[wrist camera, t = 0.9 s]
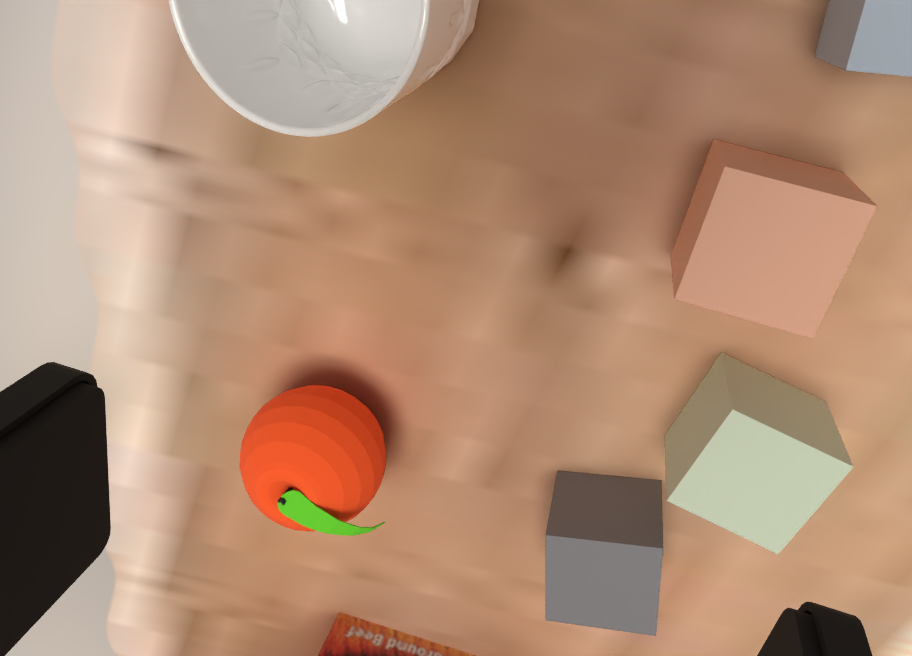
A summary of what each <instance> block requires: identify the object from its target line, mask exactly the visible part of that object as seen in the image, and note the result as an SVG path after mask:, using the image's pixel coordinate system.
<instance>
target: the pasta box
mask: <svg viewBox="0 0 912 656" xmlns="http://www.w3.org/2000/svg"><path fill="white" fill-rule="evenodd" d="M318 656H475V655H472V654H468V653H465V652H462V651H459V650H456V649H453V648H450V647H447V646H443V645H440V644H437V643H434V642H431V641H428V640H425V639H422V638H419V637H415V636H412V635H409V634H406V633H403V632H400V631H397V630H394V629H390V628H387V627H384V626H381V625H378V624H375V623H372V622H369V621H365V620H362V619H359V618H356V617H353V616H350V615H347V614H344V613H340V612H339V614H338V616H337V618H336V620H335V622H334V624H333V626H332V628H331V630H330V633H329V635H328V637H327V639H326V641H325V643H324V645H323V647H322V649H321V651H320V653H319V655H318Z"/></svg>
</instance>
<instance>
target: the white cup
mask: <svg viewBox="0 0 912 656" xmlns="http://www.w3.org/2000/svg"><path fill="white" fill-rule="evenodd" d="M479 1H480V0H169V5H170V9H171V13H172V17H173V20H174V24H175V27H176V29H177V32H178V35H179V37H180V40H181V42H182V44H183V46H184V48H185V50H186V52H187V54H188V56H189V58H190V60H191V61H192V63H193V65H194V66H195V68H196V69H197V71H198V72H199V74H200V75H201V76H202V78H203V79H204V80H205V82H206V83H207V84H208V85H209V87H210V88H211V89H212V90H213V91H214V92H215V93H216V94H217V95H218V96H219V97H220V98H221V99H222V100H223V101H224V102H225V103H226V104H228V105H229V106H230V107H231V108H232V109H234V110H235V111H236V112H238V113H239V114H241V115H242V116H244V117H245V118H247V119H249V120H251V121H252V122H254V123H256V124H258V125H260V126H263V127H265V128H267V129H270V130H273V131H276V132H279V133H283V134H288V135H294V136H303V137H319V136H328V135H333V134H337V133H341V132H344V131H347V130H350V129H352V128H355V127H357V126H359V125H361V124H363V123H365V122H366V121H368V120H370V119H371V118H373V117H374V116H376V115H377V114H379V113H380V112H382V111H383V110H385V109H386V108H388V107H389V106H391V105H392V104H394V103H395V102H397V101H399V100H400V99H402V98H403V97H405V96H406V95H408V94H410V93H411V92H413V91H414V90H416V89H417V88H418V87H420V86H421V85H422V84H423V83H424V82H426V81H427V80H429V79H430V78H431V77H433V76H434V75H435V74H436V73H437V72H438V71H439V70H440V69H441V68H442V67H443V66H445V65H447V64H448V63H450V62H451V61H452V59H453V58H454V57H455V55H456V54H457V52H458V51H459V50H460V48H461V47H462V45H463V44H464V43H465V41H466V40H467V39H468V37H469V36H470V34H471V33H472V32H473V30H474V25H475V20H476V15H477V10H478V5H479Z"/></svg>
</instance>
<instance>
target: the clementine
mask: <svg viewBox="0 0 912 656" xmlns="http://www.w3.org/2000/svg"><path fill="white" fill-rule="evenodd" d="M385 465H386V450H385V443H384V437H383V432H382V430H381V428H380V426H379V423H378V421H377V419H376V418H375V417H374V415H373V414H372V413H371V412H370V410H369V409H368V408H367V407H366V406H365V405H364V404H363V403H361V402H360V401H359V400H358V399H357V398H355V397H354V396H352V395H350V394H348V393H346V392H344V391H342V390H340V389H336V388H333V387H329V386H323V385H309V386H304V387H300V388H296V389H291V390H287V391H285V392H283V393H282V394H280V395H278V396H277V397H275V398H273V399H272V400H271V401H269V402H268V403H266V404H265V405H264V406H263V407H262V408H261V409H260V410H259V412H258V413H257V414H256V415H255V416H254V418H253V419H252V421H251V423H250V424H249V426H248V428H247V430H246V432H245V435H244V438H243V440H242V445H241V452H240V471H241V475H242V479H243V483H244V486H245V489H246V491H247V493H248V495H249V497H250V499H251V500H252V502H253V503H254V504H255V505H256V507H257V508H258V509H259V510H260V511H261V512H262V513H263V514H264V515H266V516H267V517H268V518H269V519H271V520H272V521H274V522H276V523H278V524H280V525H282V526H284V527H287V528H290V529H294V530H300V531H320V532H323V533H327V534H336V535H358V534H363V533H367V532H371V531H372V530H374V529H375V528H377V527H379V526H380V525H382V524H384V523H385V522H383V523H381V524H379V525H376V526H374V527H358V526H355V525H352V524H349V523H346V522H347V521H349V520H350V519H352V518H354V517H356V516H357V515H358V514H359V513H360V512H361V511H362V510H363V509H364V508H365V507H366V506H367V505H368V504H369V502H370V501H371V500H372V499H373V498H374V496H375V494H376V492H377V490H378V488H379V486H380V484H381V482H382V478H383V475H384V471H385Z"/></svg>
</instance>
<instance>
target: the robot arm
mask: <svg viewBox="0 0 912 656" xmlns="http://www.w3.org/2000/svg"><path fill="white" fill-rule="evenodd" d="M110 529H111V527H110V504H109V482H108V459H107V437H106V414H105V396H104V392H103V391H102V389H100V388H98V387H97V383H96V379H95V378H94V376H93V375H91V374H89V373H86V372H83V371H80V370H77V369H74V368H71V367H67V366H64V365H61V364H58V363H55V362H51V363H46V364H43V365H41V366H40V367H38V368H37V369H35V370H33V371H32V372H30V373H29V374H27V375H26V376H24V377H23V378H21V379H20V380H18V381H17V382H15V383H14V384H12V385H10V386H9V387H7V388H6V389H5V390H3V391H1V392H0V656H5V655H6V654H7V653H8V652H9V651H10V650H11V648H12V647H13V646H14V645H15V644H16V643H17V642H18V641H19V640H20V639H21V638H22V637H23V636H24V635H25V634H26V633H27V632H28V630H29V629H30V628H31V627H32V626H33V625H34V624H35V623H36V622H37V621H38V620H39V619H40V618H41V617H42V616H43V615H44V613H45V612H46V611H47V610H48V609H49V608H50V607H51V606H52V605H53V604H54V603H55V602H56V601H57V600H58V599H59V598H60V597H61V595H62V594H63V593H64V592H65V591H66V590H67V589H68V588H69V587H70V586H71V585H72V584H73V583H74V582H75V581H76V579H77V578H78V577H79V576H80V575H81V574H82V573H83V572H84V571H85V570H86V569H87V568H88V567H89V566H90V564H92V563H93V562H94V560H95V559H96V558H97V557H98V556H99V555H100V554H101V552H102V551H103V549H104V548H105V546H106V544H107V542H108V539H109V536H110ZM757 656H872V653H871V650H870V647H869V643H868V640H867V637H866V634H865V630H864V627H863V625H862V623H861V621H860V620H859V619H858V618H857V617H856V616H853V615H850V614H847V613H844V612H841V611H838V610H835V609H831V608H828V607H825V606H822V605H819V604H816V603H812V602H805V603H804V604H802V605H801V607H800V608H799V609H798V610H795V609H792V608H787V609H785V610H784V611H783V613H782V614H781V616H780V617H779V619H778V621H777V623H776V624H775V626H774V628H773V630H772V631H771V633H770V635H769V636H768V638H767V640H766V642H765V643H764V645H763V647H762V649H761V650H760V652H759V654H758V655H757Z"/></svg>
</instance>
